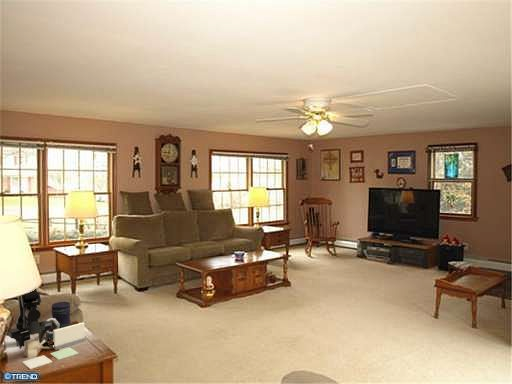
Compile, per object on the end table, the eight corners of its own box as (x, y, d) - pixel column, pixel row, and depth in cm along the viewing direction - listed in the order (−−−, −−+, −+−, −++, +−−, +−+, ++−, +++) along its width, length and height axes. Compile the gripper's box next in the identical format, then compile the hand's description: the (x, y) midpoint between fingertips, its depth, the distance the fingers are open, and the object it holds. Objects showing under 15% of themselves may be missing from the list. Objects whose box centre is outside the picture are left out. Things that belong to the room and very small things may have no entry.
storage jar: (66, 325, 251) (66, 300, 250) (73, 329, 244) (73, 304, 243) (49, 329, 244) (48, 304, 243) (55, 334, 237) (55, 308, 236)
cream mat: (22, 362, 201) (22, 361, 201) (43, 355, 209) (43, 355, 209) (30, 369, 195) (30, 368, 195) (52, 362, 202) (52, 361, 202)
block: (24, 354, 210) (24, 341, 210) (33, 352, 213) (32, 338, 213) (28, 357, 207) (28, 343, 206) (36, 355, 210) (36, 341, 209)
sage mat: (50, 354, 211) (50, 353, 211) (69, 348, 219) (69, 347, 218) (58, 360, 204) (58, 359, 204) (78, 353, 212) (78, 352, 212)
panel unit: (46, 343, 224) (45, 325, 224) (75, 334, 236) (75, 318, 236) (55, 349, 216) (55, 331, 216) (85, 340, 228) (85, 323, 228)
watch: (61, 337, 232) (61, 318, 231) (45, 341, 226) (45, 321, 226) (57, 334, 236) (57, 315, 235) (42, 338, 230) (42, 319, 230)
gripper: (15, 324, 197) (16, 357, 197) (56, 314, 211) (56, 345, 211) (7, 318, 204) (7, 350, 205) (46, 309, 218) (47, 339, 219)
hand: (30, 346), depth 210 cm, fingers open, 9 cm apart
